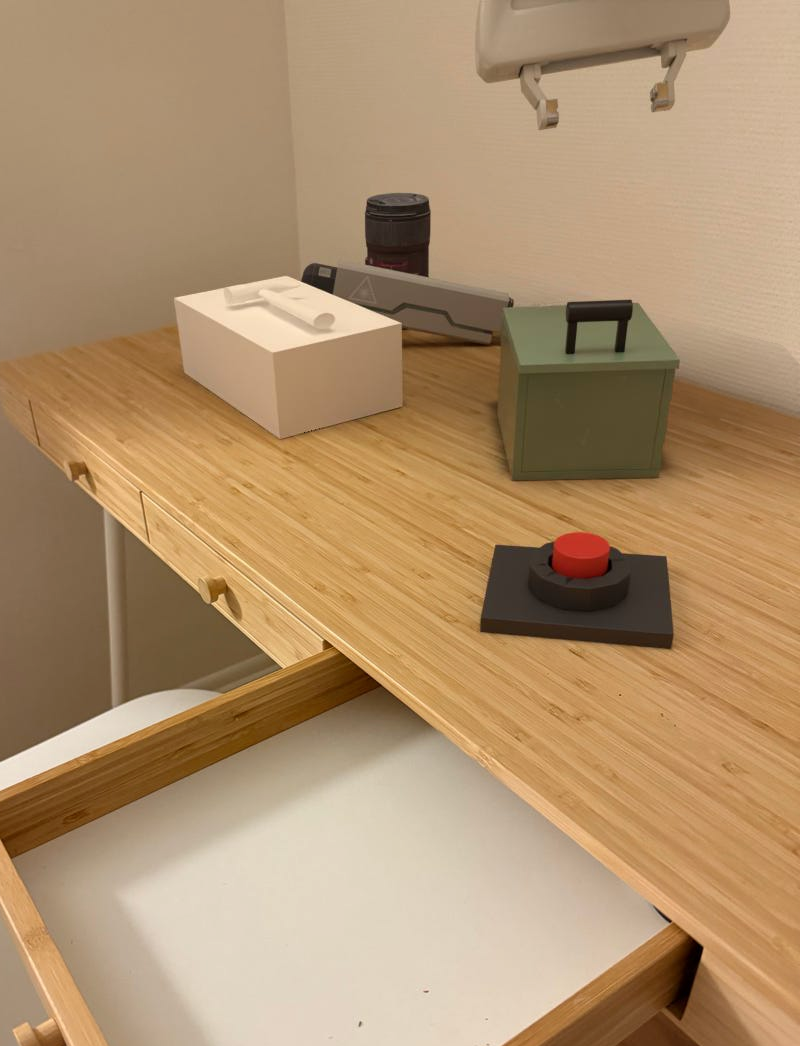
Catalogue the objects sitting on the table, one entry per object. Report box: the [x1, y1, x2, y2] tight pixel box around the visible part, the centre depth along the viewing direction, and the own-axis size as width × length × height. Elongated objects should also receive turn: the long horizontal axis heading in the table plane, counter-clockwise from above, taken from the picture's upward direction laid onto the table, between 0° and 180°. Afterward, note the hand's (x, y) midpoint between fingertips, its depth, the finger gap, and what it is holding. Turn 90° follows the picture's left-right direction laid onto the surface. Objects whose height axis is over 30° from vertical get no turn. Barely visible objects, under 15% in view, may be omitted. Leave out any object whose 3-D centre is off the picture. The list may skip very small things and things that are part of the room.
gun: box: [300, 259, 515, 346], centre depth 115 cm, size 2×25×10 cm, turn 85°
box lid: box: [502, 299, 681, 374], centre depth 82 cm, size 16×13×5 cm
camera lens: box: [364, 192, 432, 330], centre depth 120 cm, size 8×8×15 cm
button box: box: [479, 541, 675, 650], centre depth 65 cm, size 12×10×4 cm
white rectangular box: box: [173, 275, 403, 440], centre depth 103 cm, size 14×25×11 cm, turn 29°
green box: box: [496, 317, 677, 482], centre depth 87 cm, size 16×13×10 cm
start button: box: [552, 531, 611, 579], centre depth 64 cm, size 4×4×2 cm
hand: (605, 117), depth 80 cm, fingers open, 8 cm apart
